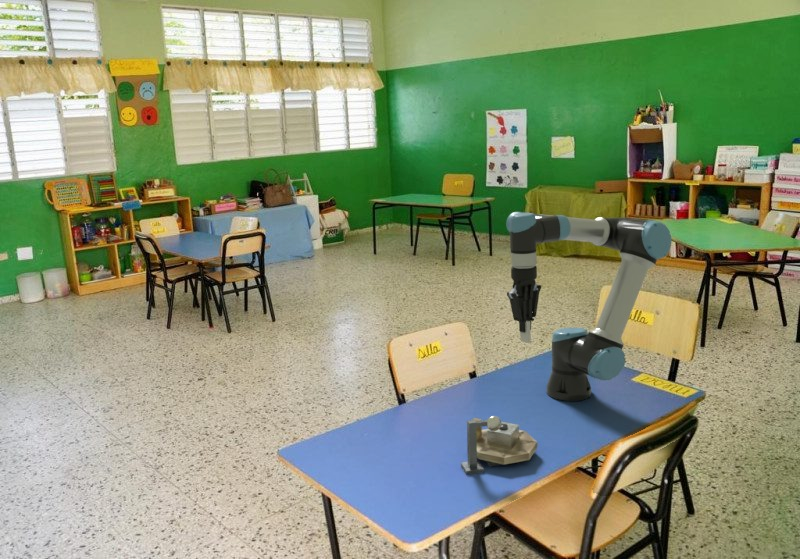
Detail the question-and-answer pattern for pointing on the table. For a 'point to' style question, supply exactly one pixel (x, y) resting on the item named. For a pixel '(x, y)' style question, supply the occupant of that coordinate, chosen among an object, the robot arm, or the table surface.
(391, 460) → the table surface
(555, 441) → the table surface
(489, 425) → the dial post
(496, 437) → the cover
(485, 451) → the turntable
